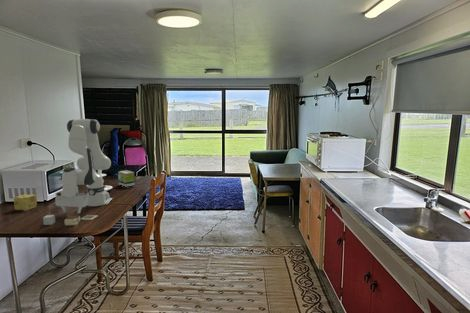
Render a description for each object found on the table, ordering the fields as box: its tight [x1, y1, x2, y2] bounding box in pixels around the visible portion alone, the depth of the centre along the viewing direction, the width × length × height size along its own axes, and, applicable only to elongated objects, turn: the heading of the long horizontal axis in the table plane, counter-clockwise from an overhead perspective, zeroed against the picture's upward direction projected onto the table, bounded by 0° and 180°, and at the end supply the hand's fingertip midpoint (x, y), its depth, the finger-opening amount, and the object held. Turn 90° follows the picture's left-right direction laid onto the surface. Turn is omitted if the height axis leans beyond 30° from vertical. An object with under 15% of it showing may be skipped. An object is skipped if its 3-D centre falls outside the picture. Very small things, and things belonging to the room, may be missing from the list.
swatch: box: [80, 214, 99, 221], centre depth 206 cm, size 8×8×1 cm
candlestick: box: [85, 170, 113, 192], centre depth 275 cm, size 21×25×28 cm
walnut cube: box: [65, 208, 80, 219], centre depth 195 cm, size 5×5×5 cm
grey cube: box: [42, 214, 56, 226], centre depth 194 cm, size 5×5×5 cm
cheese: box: [13, 194, 38, 212], centre depth 224 cm, size 10×11×10 cm
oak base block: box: [63, 215, 81, 226], centre depth 195 cm, size 7×7×4 cm
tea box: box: [117, 169, 136, 188], centre depth 298 cm, size 15×10×15 cm, turn 49°
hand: (72, 212), depth 195 cm, fingers open, 8 cm apart
